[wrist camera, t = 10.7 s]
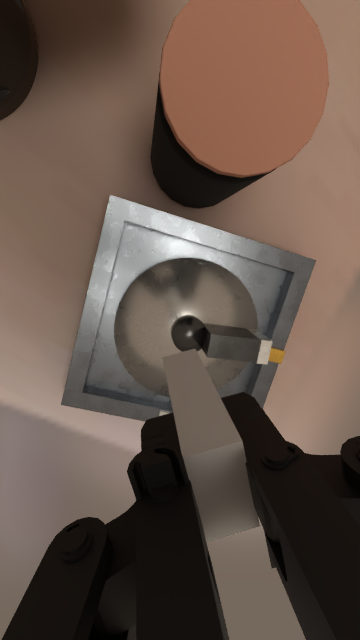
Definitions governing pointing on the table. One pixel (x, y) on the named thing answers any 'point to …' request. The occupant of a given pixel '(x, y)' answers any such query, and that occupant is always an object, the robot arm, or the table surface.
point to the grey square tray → (155, 247)
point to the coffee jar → (235, 96)
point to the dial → (188, 322)
